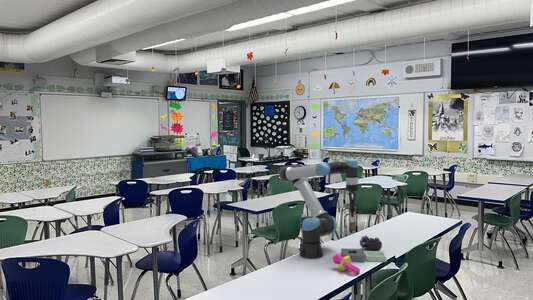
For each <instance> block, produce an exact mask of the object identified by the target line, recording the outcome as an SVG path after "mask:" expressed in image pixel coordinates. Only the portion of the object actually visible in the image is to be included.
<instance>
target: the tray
mask: <svg viewBox="0 0 533 300" xmlns="http://www.w3.org/2000/svg"><path fill="white" fill-rule="evenodd" d="M364 254H365V262H369V263H370V262H372V263H374V262H376V263H377V262H378V263H387V261H388V259H387V255H386V251H380V250H378V251H369V250H364Z"/></svg>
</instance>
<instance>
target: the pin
mask: <svg viewBox="0 0 533 300" xmlns="http://www.w3.org/2000/svg"><path fill="white" fill-rule="evenodd" d="M356 209H357V206H355V211H354V212H355V222H350V212H349V211H350V205H349V206H348V209H347V210H348V231H349V232H353V233H354V232H356V222H357V221H356V218H357V217H356Z"/></svg>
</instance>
